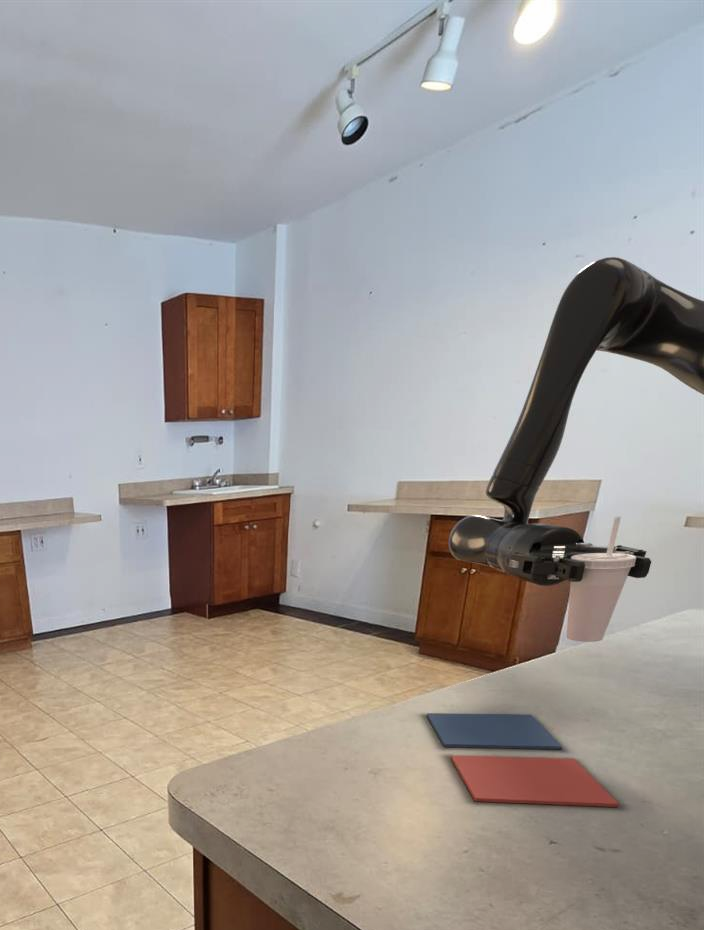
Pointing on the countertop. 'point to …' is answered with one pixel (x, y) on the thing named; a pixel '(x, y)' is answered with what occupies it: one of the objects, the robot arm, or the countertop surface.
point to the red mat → (530, 781)
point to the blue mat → (491, 731)
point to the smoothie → (597, 591)
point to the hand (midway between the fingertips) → (612, 570)
